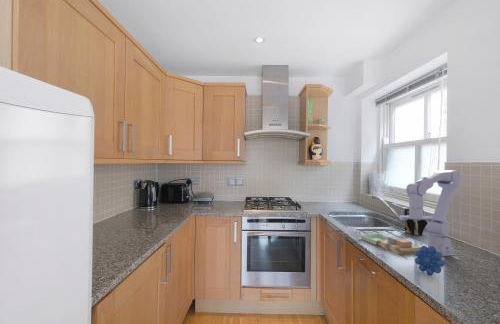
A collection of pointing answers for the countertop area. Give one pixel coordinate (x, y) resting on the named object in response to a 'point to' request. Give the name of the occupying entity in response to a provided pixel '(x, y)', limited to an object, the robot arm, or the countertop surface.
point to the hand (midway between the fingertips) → (416, 235)
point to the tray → (373, 238)
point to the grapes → (429, 260)
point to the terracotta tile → (404, 243)
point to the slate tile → (393, 239)
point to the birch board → (398, 247)
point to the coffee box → (414, 221)
